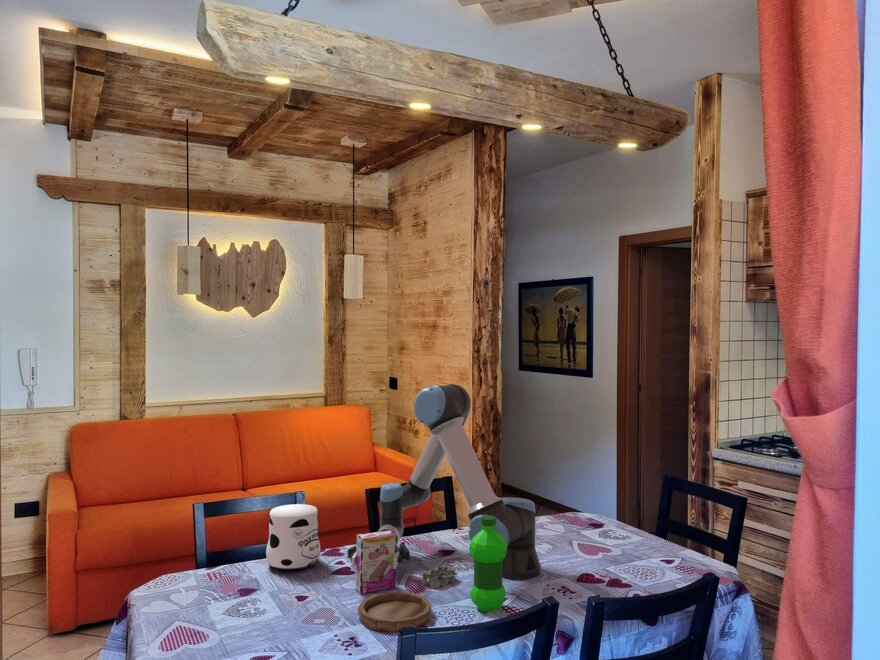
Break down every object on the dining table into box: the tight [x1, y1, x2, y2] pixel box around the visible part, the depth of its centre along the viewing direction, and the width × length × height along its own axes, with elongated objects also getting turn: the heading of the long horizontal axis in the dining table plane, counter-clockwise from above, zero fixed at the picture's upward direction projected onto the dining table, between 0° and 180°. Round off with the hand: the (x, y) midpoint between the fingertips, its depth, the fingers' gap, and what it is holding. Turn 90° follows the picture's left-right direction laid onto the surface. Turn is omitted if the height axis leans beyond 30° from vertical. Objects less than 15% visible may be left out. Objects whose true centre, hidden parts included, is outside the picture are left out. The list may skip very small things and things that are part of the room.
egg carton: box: [419, 564, 459, 589], centre depth 204 cm, size 11×8×4 cm
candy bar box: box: [355, 531, 397, 596], centre depth 198 cm, size 11×5×16 cm, turn 116°
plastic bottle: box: [469, 516, 507, 613], centre depth 185 cm, size 10×10×25 cm
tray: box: [357, 591, 432, 633], centre depth 179 cm, size 19×19×3 cm
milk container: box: [265, 503, 321, 571], centre depth 218 cm, size 17×17×18 cm
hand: (373, 563), depth 194 cm, fingers closed on candy bar box, 11 cm apart
